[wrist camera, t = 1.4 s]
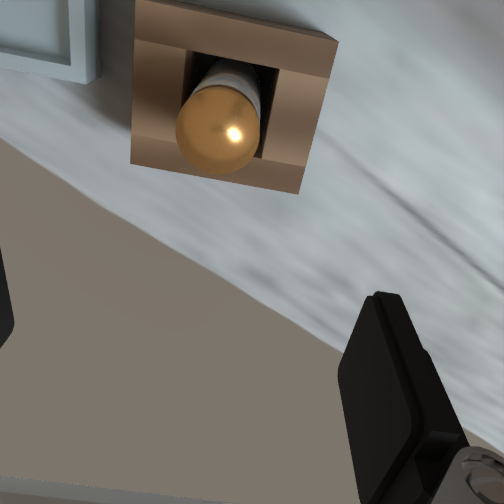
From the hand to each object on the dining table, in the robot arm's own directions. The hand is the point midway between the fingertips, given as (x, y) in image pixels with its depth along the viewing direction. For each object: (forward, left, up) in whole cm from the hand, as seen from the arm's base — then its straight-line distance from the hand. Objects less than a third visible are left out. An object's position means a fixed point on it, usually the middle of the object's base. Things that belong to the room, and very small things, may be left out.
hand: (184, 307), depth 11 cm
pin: (-1, -1, -25) cm, 25 cm away
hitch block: (-1, -1, -25) cm, 25 cm away
